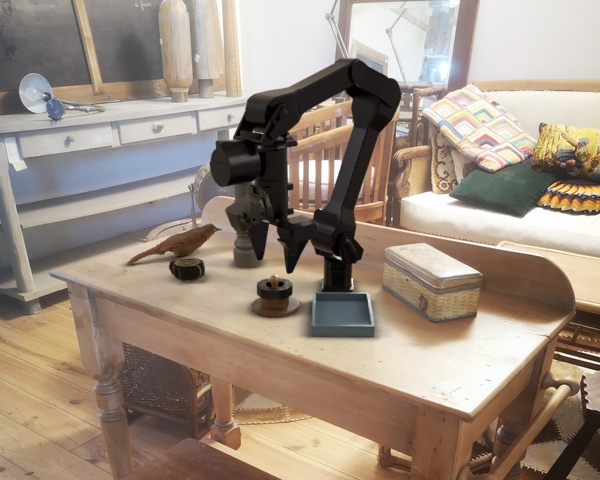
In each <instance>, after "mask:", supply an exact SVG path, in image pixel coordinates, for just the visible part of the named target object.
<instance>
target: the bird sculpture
mask: <svg viewBox="0 0 600 480" xmlns="http://www.w3.org/2000/svg"><path fill="white" fill-rule="evenodd" d="M222 230H223V229H222V228H220V227H219V228H218V227H217V226H215V224H214V223H211V222H210V223H207V224H204V225H202V226H194V227H193V228H190V229H188V230H186V231H183V232H179V233H174V234H172V235H170V236H168V237H167V238H165V240H163V241H161V242H159V244H156V245H155V246H153V247H151V248H149V249H147V250H144V251H142V252H140V253H138V254H135V255H134V256H133V257H131V258H130V259H129V260H128V261H127V264H126V265H127V266H128V265H132V264H135V263H136V262H138V261H139V260H142V259H143V258H146V257H149V256H154V255H159V256H163V255H165V253H169V252H171V253H173V254H174V255H175V256H176V257H184V256H188V255H190V254H192V253H194V252H196V251H198V249H199V248H201V247H202V246H203V245H204V244H205V243H206V242H207V241H210V239H211V237H212V236H213V235H214V234H215V233H217V232H220V231H222Z"/></svg>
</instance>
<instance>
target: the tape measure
mask: <svg viewBox="0 0 600 480" xmlns="http://www.w3.org/2000/svg"><path fill="white" fill-rule="evenodd" d="M168 269H169V271H170V274H171V275H173V276H174V278H175V279H176V280H179V281H188V282H191V281H192V282H193V281H196V280H198V279H201V278H203V277H204V276H205V274H206V265H205V262H204V260H203V259H201V258H198V257H188V258H181V259H175V260H171V261H169V264H168Z"/></svg>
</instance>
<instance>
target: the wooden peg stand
mask: <svg viewBox="0 0 600 480" xmlns="http://www.w3.org/2000/svg"><path fill="white" fill-rule="evenodd" d="M269 278H270V283H271V287H272V288H277V287H278V283H279V278H280V277H279V276H278V275H276V274H273V275H270V277H269ZM299 309H300V302H299V301H298V300H297V299H296V298H294V297H291V296H290V297H288V298H285V299H281V300H267V299H263V298H260V297H259V298H255V300H253V301H252V302H251V311H252V312H253V313H254V314H255V315H257V316H259V317H263V318H271V319H272V318H275V319H277V318H285V317H289V316H292V315H294V314H296V313H297V312H298V311H299Z"/></svg>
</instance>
